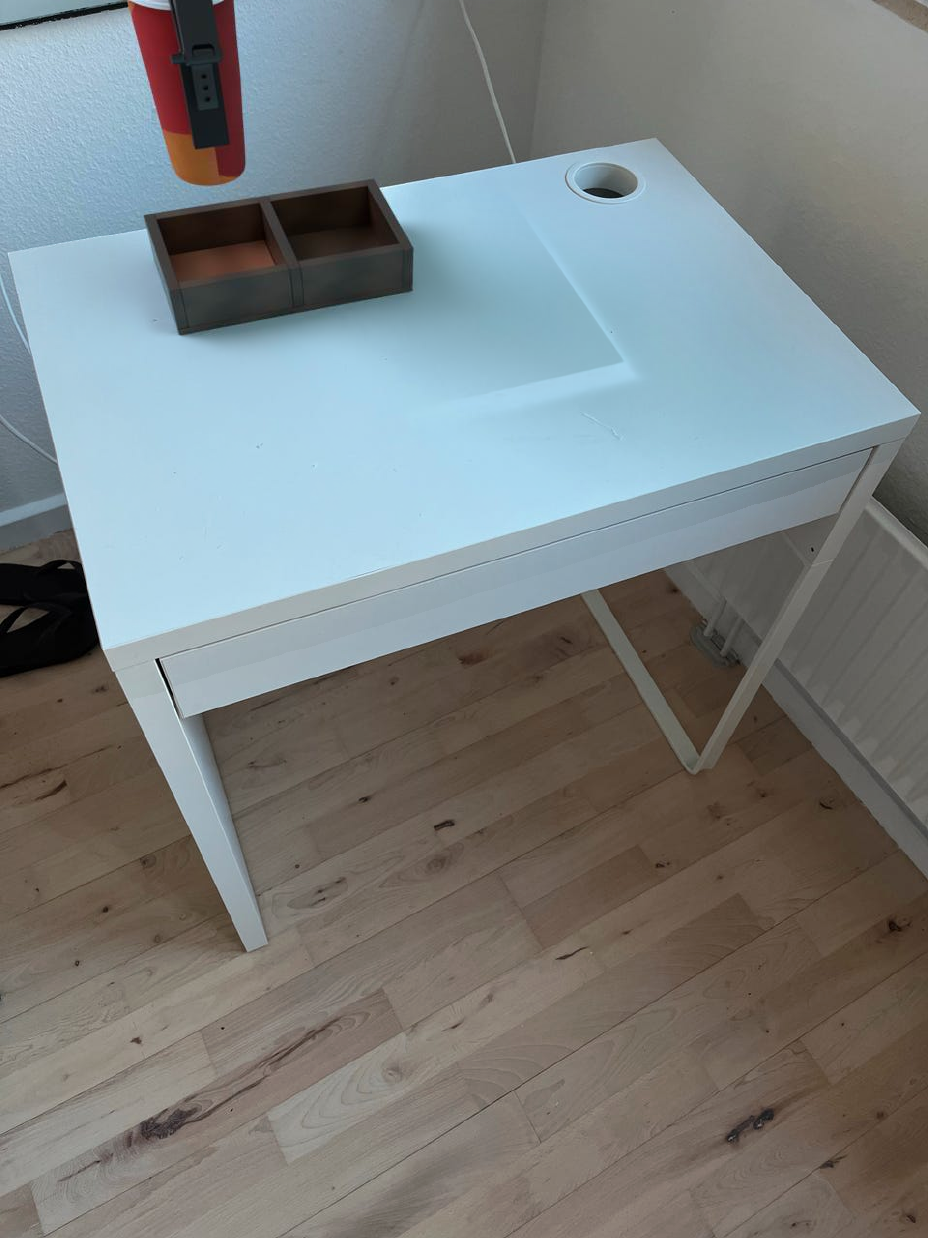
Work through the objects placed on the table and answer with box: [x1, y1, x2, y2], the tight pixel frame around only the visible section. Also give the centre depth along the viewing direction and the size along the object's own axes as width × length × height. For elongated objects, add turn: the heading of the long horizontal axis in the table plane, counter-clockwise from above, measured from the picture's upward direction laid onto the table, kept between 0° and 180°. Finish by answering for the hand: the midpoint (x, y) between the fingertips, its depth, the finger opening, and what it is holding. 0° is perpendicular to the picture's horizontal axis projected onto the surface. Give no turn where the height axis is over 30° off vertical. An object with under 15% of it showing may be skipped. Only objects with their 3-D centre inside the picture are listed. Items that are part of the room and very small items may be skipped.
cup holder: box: [143, 178, 414, 336], centre depth 87 cm, size 22×12×5 cm, turn 111°
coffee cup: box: [126, 0, 247, 187], centre depth 72 cm, size 8×8×15 cm
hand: (199, 114), depth 74 cm, fingers closed on coffee cup, 8 cm apart
